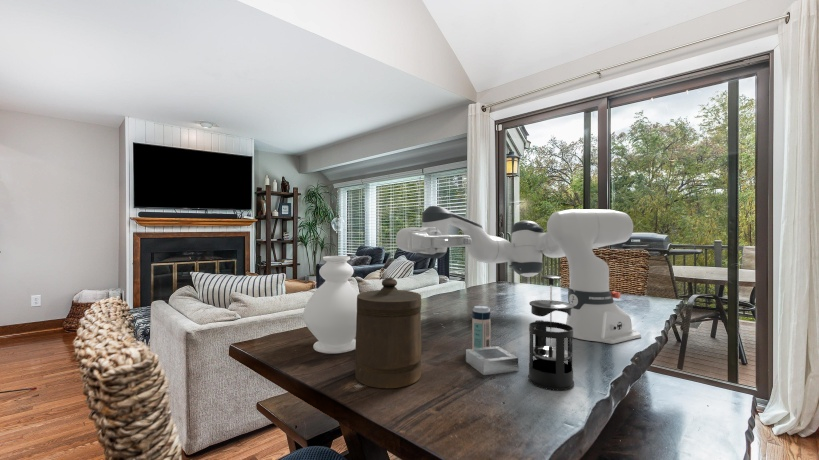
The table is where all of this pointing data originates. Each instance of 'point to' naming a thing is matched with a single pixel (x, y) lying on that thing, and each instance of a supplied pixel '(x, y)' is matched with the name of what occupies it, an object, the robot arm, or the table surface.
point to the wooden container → (388, 337)
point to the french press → (549, 359)
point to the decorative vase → (333, 308)
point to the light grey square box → (491, 360)
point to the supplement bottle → (480, 327)
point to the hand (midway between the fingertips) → (458, 241)
